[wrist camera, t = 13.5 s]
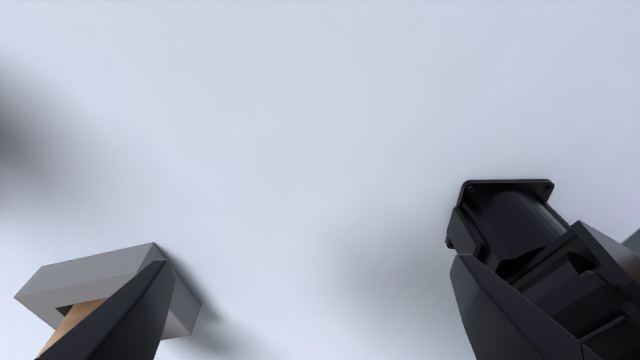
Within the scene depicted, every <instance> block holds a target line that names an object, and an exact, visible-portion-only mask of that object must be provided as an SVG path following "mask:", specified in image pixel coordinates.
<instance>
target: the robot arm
mask: <svg viewBox="0 0 640 360" xmlns="http://www.w3.org/2000/svg"><path fill="white" fill-rule="evenodd" d="M470 186H472V187H471V188H469V187H470ZM545 186H546V187H545ZM468 188H469V189H468ZM553 188H554V184H553V183H552V182H551V181H550V180H548V179H518V180H468V181H466V182H464V183H463V185H462V187H461V191H460V194H459V197H458V201H457V204H456V206H455V207H454V209H453V212H452V215H451V218H450V222H449V225H448V228H447V237H446V240H445V243H446V245H447V247H448V248H449V249H455V250H456V252H457V255H456V256H455V258H454V261H453V264H452V267H451V270H450V278H451V282H452V286H453V289H454V293H455V297H456V300H457V304H458V308H459V312H460V315H461V319H462V322H463V325H464V328H465V331H466V333H467V336H468V339H469V341H470V344H471V346H472V349H473V351H474V354H475V356H476V359H477V360H640V258H639V257H638V256H637V255H635V254H634V253H633V252H632V251H630V250H629V249H628V248H626V247H625V246H623V245H622V244H620V243H618V242H616V241H615V240H613V239H611V238H609V237H608V236H606V235H604V234H603V233H601V232H599V231H597V230H596V229H594V228H592V227H591V226H589V225H587V224H585V223H584V222H582V221H580V220H578V221H577V222H575V223H574V224H573V225H571V226H570V225H569V224H568V223H567V222H566V221H565V220H564V219H563V218H562V217H561V216H560V215H559V214H558V213H557V212H556V211H555V210H554V209H553V208H551V207H550V206H549V205H548V204H547V201H548V198H549V196H550V194H551V192H552V190H553ZM175 284H176V277H175V274H174V271H173V268H172V266H171V263H170V261H169V260H168V259H156V260H153V261H152V262H151V263H149V264H148V265H147V266H146V267H145V268H143V269H142V270H141V271H140V272H139V273H137V274H136V275H135V276H134V277H133V278H131V279H130V280H129V281H128V282H127V283H125V284H124V285H123V286H122V287H121V288H119V289H118V290H117V291H116V292H115V293H113V294H112V295H111V296H110V297H109V298H108V299H106V300H105V301H104V302H103V303H102V304H100V305H99V306H98V307H97V308H96V309H94V310H93V311H92V312H91V313H90V314H88V315H87V316H86V317H85V318H84V319H82V320H81V321H80V322H79V323H78V324H76V325H75V326H74V327H73V328H72V329H70V330H69V331H68V332H67V333H66V334H64V335H63V336H62V337H61V338H60V339H58V340H57V341H56V342H55V343H54V344H52V345H51V346H50V347H49V348H48V349H46V350H45V351H44V352H43V353H42V354H41V355H40V356H39V357H37V358H36V359H34V360H153V359H154V357H155V354H156V351H157V348H158V346H159V343H160V340H161V337H162V334H163V331H164V328H165V324H166V320H167V316H168V312H169V308H170V304H171V300H172V296H173V292H174V288H175Z"/></svg>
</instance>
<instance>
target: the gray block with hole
mask: <svg viewBox="0 0 640 360" xmlns="http://www.w3.org/2000/svg"><path fill="white" fill-rule="evenodd" d="M156 259H166V258H165V257H164V255H163V254H162V253H161V252H160V250H159V249H158V248H157V246H156V245H155V244H154V242H153V243H148V244H144V245H139V246H135V247H130V248H125V249H121V250H116V251H112V252H107V253H102V254H98V255H93V256H89V257H84V258H79V259H75V260H70V261H66V262H61V263H56V264H52V265H47V266H43V267H41V268H40V269H39V270H38V271H37V272H36V273H35V274H34V275H33V276H32V277H31V279H30V280H29V281H28V282H27V283H26V284H25V285H24V286H23V287H22V288H21V290H20V291H19V292H18V293H17V294H16V295H15V296H14V298H15V299H16V300H18V301H19V302H20V303H21V304H23V305H24V306H25V307H26V308H28V309H29V310H30V311H32V312H33V313H34V314H35V315H37V316H38V317H39V318H41V319H42V320H43V321H44V322H46V323H47V324H48V325H49V326H51V327H52V328H53V329H55V330H56V329H57V328H58V326H59V325H60V324H61V322H62V321H63V319H64V318H65V317H66V315H67V314H68V312H69V311H70V309H71V308H72V307H73V305H74V304H77V303H82V302H87V301H92V300H98V299H103V298H108V297H110V296H111V295H112V294H113V293H115V292H116V291H117V290H118V289H119V288H121V287H122V286H123V285H124V284H125V283H127V282H128V281H129V280H130V279H131V278H133V277H134V276H135V275H136V274H137V273H139V272H140V271H141V270H142V269H143V268H145V267H146V266H147V265H148V264H149V263H151V262H152V261H153V260H156ZM172 268H173V267H172ZM173 271H174V274H175V277H176V284H175V288H174V292H173V296H172V300H171V304H170V308H169V312H168V316H167V320H166V324H165V328H164V331H163V334H162V337H161V340H165V339H170V338H176V337H182V336H187V335H191V334H192V331H193V328H194V325H195V322H196V318H197V315H198V312H199V309H200V306H201V304H200V303H199V301H198V300H197V299H196V297H195V296H194V295H193V293H192V292H191V291H190V289H189V288H188V287H187V286H186V284H185V283H184V282H183V280H182V279H181V278H180V276H179V275H178V274H177V272H176V271H175V270H174V269H173Z"/></svg>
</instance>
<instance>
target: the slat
mask: <svg viewBox="0 0 640 360" xmlns="http://www.w3.org/2000/svg"><path fill="white" fill-rule="evenodd" d="M108 298H109V297H108ZM108 298H103V299H98V300H92V301H87V302H82V303H77V304H74V305H73V307H72V308H71V309H70V311H69V312H68V314H67V315H66V317H65V318H64V319H63V321H62V322H61V324H60V325H59V326H58V328H57V329H56V331H55V332H54V334H53V335H52V336H51V338H50V339H49V341H48V342H47V343H46V345H45V346H44V348H43V349H42V350H41V352H40V353H39V355H38V356H37V357H39V356H40V355H41V354H42V353H43V352H44V351H45V350H46V349H48V348H49V347H50V346H51V345H52V344H54V343H55V342H56V341H57V340H58V339H60V338H61V337H62V336H63V335H64V334H66V333H67V332H68V331H69V330H70V329H72V328H73V327H74V326H75V325H76V324H78V323H79V322H80V321H81V320H82V319H84V318H85V317H86V316H87V315H88V314H90V313H91V312H92V311H93V310H94V309H96V308H97V307H98V306H99V305H100V304H102V303H103V302H104V301H105V300H106V299H108Z"/></svg>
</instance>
